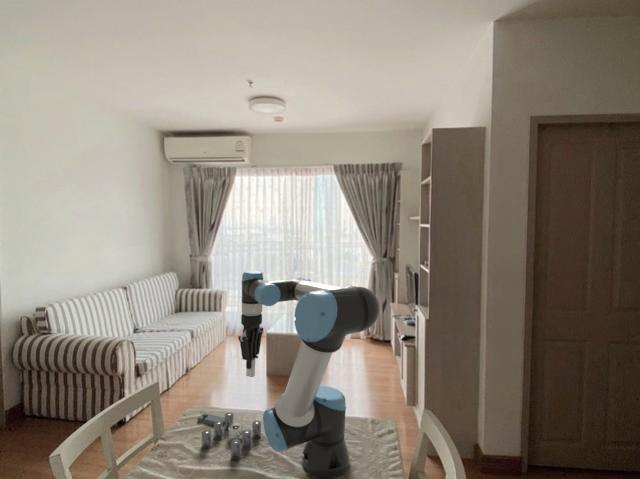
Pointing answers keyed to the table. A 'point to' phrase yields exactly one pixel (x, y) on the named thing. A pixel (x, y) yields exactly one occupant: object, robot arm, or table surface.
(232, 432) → the silver metal cylinder
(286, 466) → the table surface
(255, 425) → the spacer field
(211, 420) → the bracket
